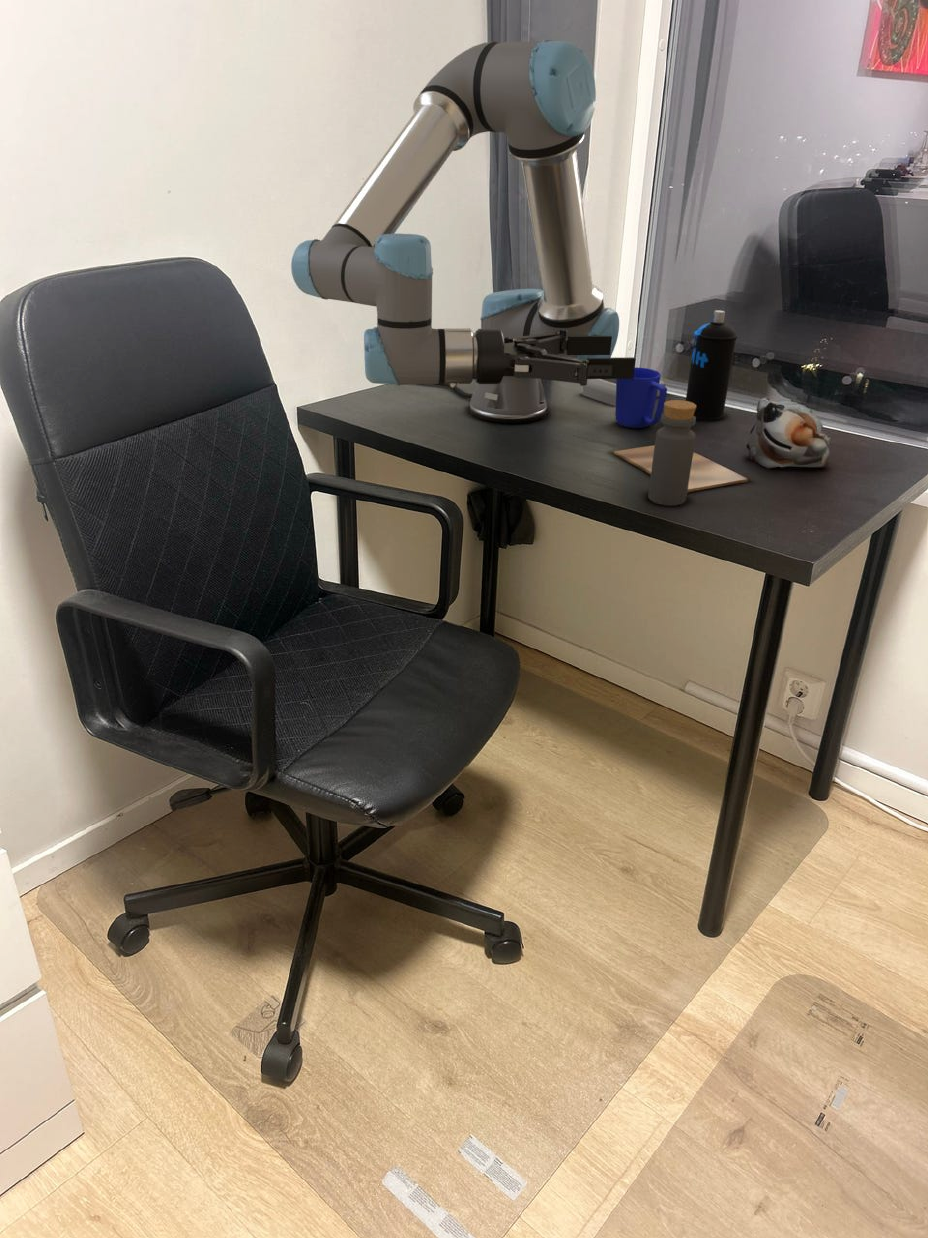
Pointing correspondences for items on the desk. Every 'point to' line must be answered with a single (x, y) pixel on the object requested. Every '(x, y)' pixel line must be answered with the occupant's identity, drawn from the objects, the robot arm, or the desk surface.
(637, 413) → the mug
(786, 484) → the desk surface
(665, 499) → the bottle
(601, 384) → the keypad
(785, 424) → the lucky cat figurine
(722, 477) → the wooden board
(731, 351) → the aerosol can
